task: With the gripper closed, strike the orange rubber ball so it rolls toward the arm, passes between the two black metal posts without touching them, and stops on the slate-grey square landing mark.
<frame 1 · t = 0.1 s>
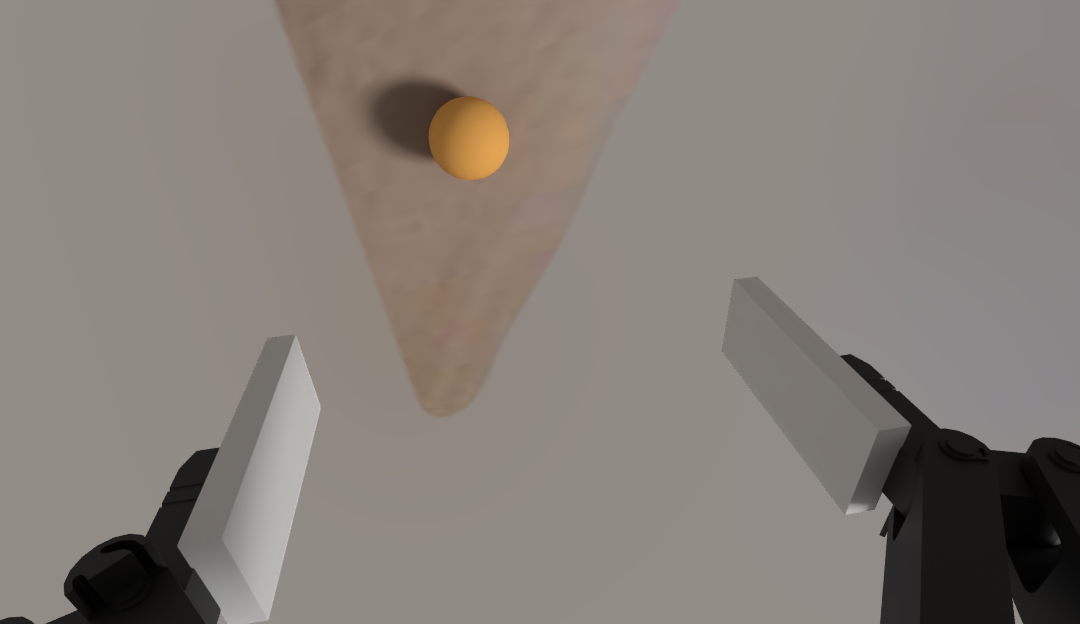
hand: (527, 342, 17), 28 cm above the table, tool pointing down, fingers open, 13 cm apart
ball: (469, 139, 38), on the table
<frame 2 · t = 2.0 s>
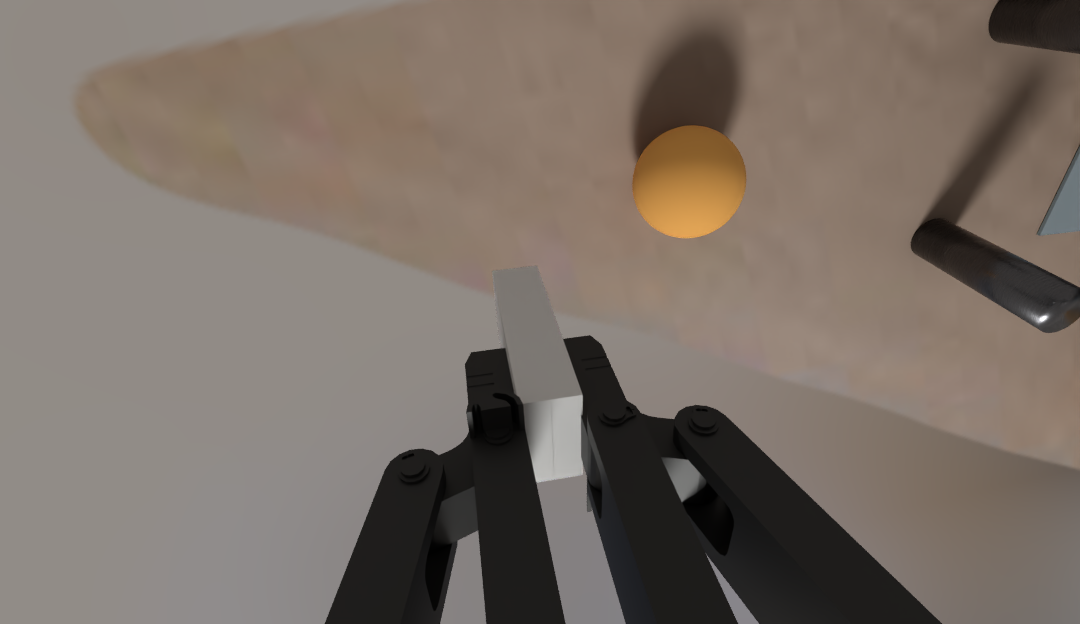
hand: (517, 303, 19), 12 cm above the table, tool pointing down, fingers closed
post 2: (930, 237, 35), on the table
ball: (687, 183, 28), on the table
post 1: (1013, 14, 29), on the table
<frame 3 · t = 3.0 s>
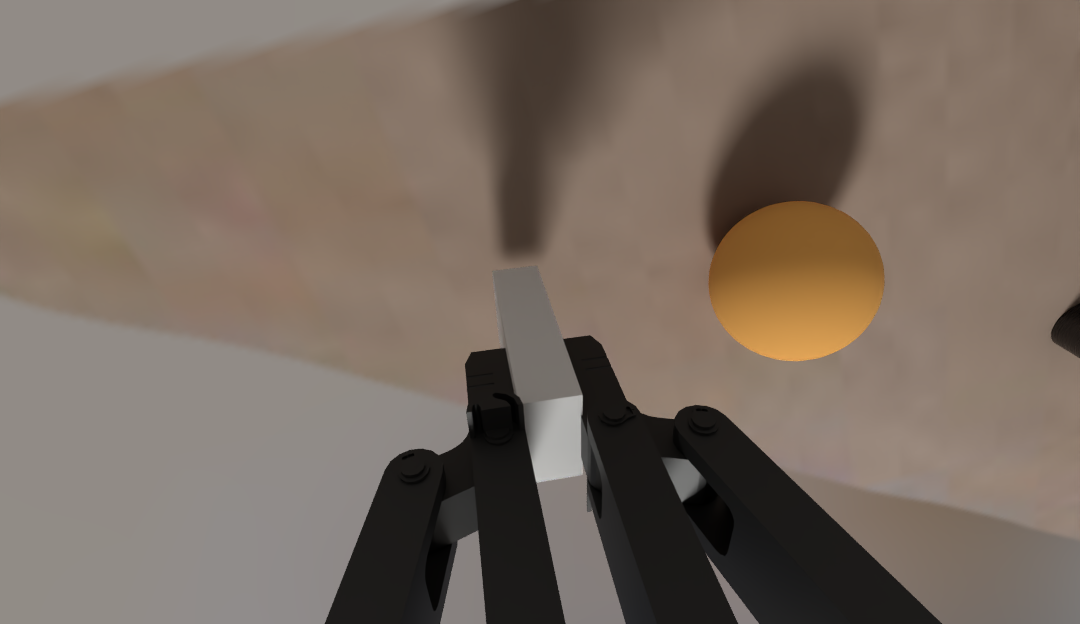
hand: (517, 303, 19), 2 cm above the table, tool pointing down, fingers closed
post 2: (1077, 323, 27), on the table
ball: (791, 281, 19), on the table
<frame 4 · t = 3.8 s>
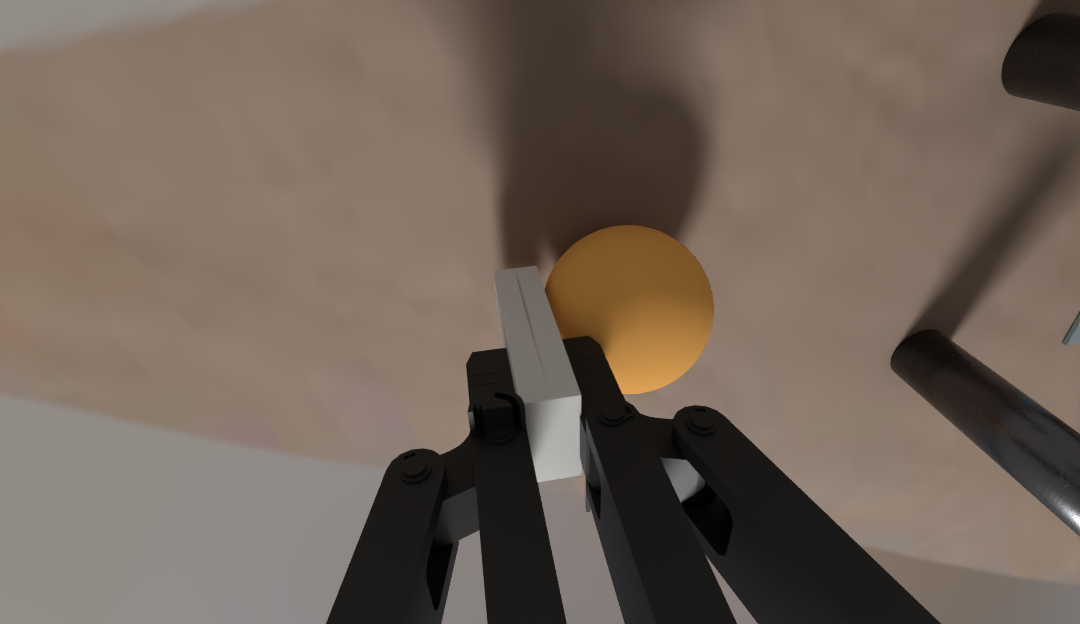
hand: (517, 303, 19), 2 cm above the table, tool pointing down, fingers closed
post 2: (917, 353, 26), on the table
ball: (626, 309, 18), on the table, touching gripper
post 1: (1039, 56, 19), on the table
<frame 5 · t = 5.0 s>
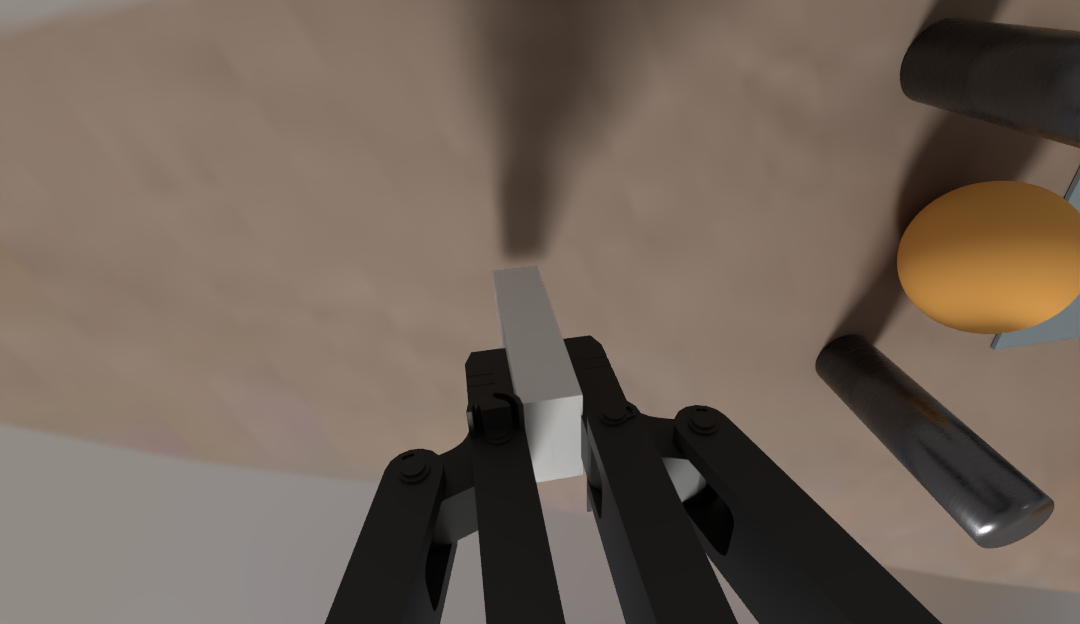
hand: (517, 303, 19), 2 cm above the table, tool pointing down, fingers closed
post 2: (842, 358, 25), on the table
ball: (987, 258, 20), on the table
post 1: (937, 61, 19), on the table
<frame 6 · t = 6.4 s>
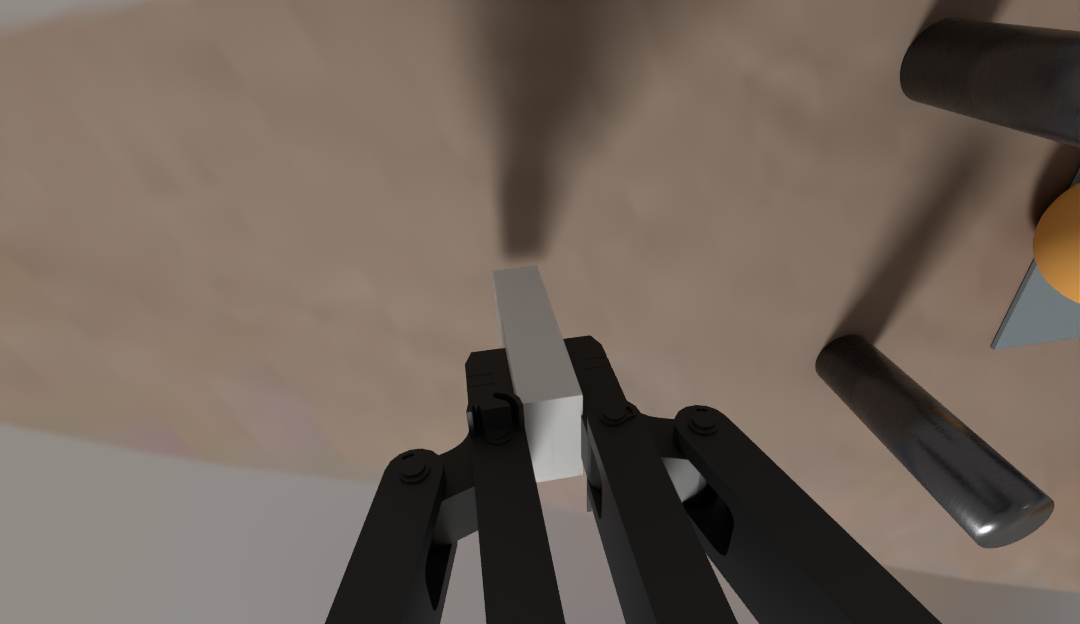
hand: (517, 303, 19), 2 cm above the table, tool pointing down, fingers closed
post 2: (842, 358, 25), on the table
post 1: (937, 61, 19), on the table
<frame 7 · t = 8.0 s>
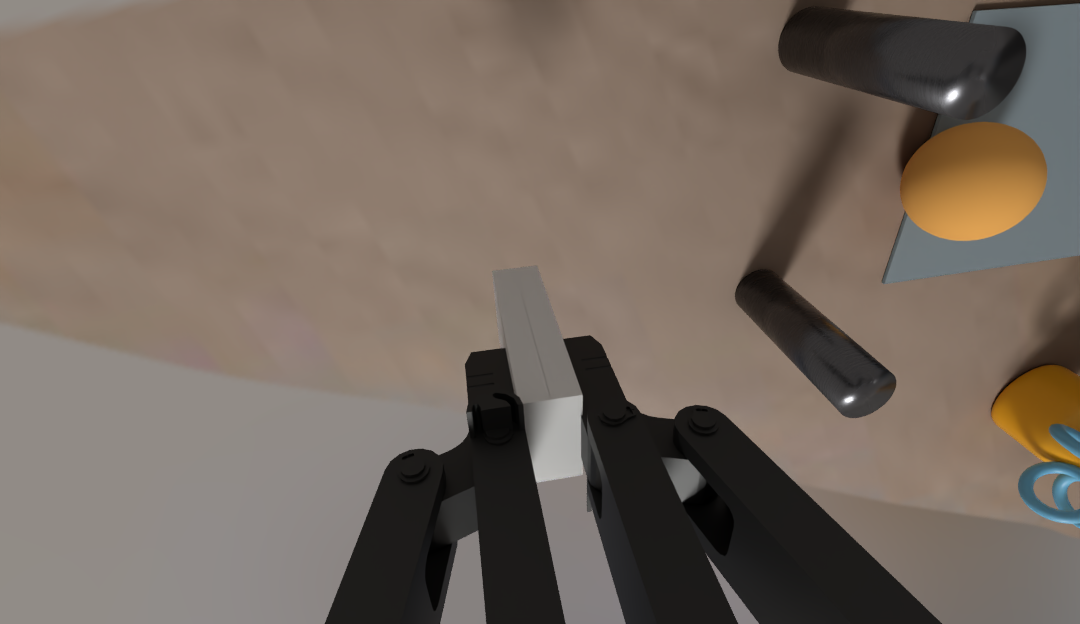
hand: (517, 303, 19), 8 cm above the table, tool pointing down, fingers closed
post 2: (757, 290, 31), on the table
landing mark: (1037, 151, 29), on the table
ball: (969, 182, 26), on the table
cylinder: (1024, 392, 41), on the table
post 1: (806, 40, 24), on the table
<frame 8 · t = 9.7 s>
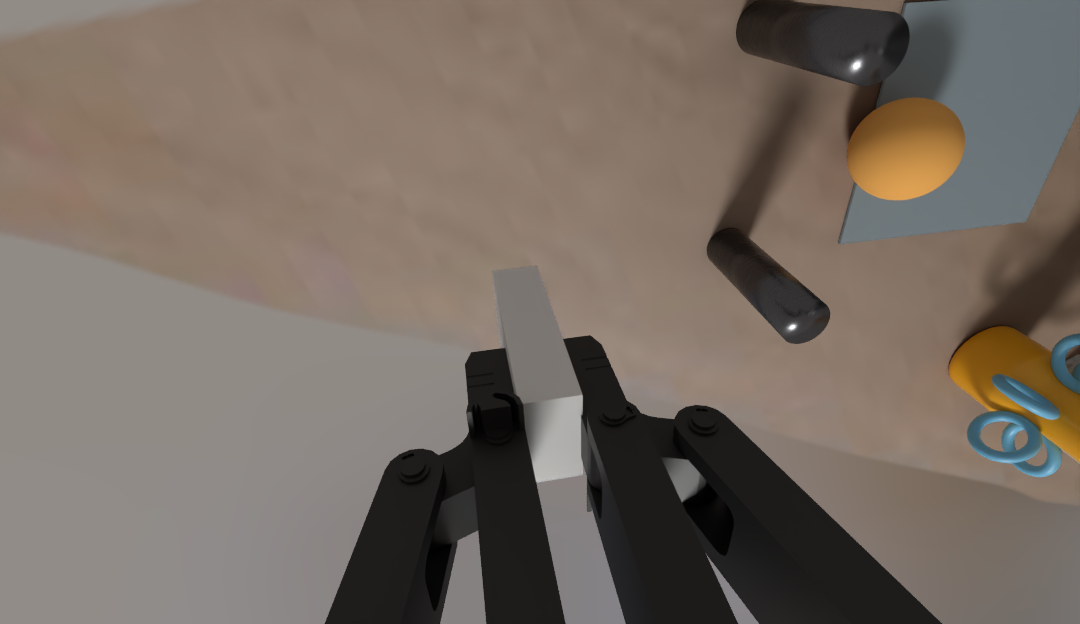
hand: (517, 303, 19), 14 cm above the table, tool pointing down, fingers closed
post 2: (726, 246, 35), on the table
landing mark: (971, 126, 34), on the table
ball: (903, 150, 31), on the table
cylinder: (979, 352, 45), on the table
post 1: (760, 27, 29), on the table
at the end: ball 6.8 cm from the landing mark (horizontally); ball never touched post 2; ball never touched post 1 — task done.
